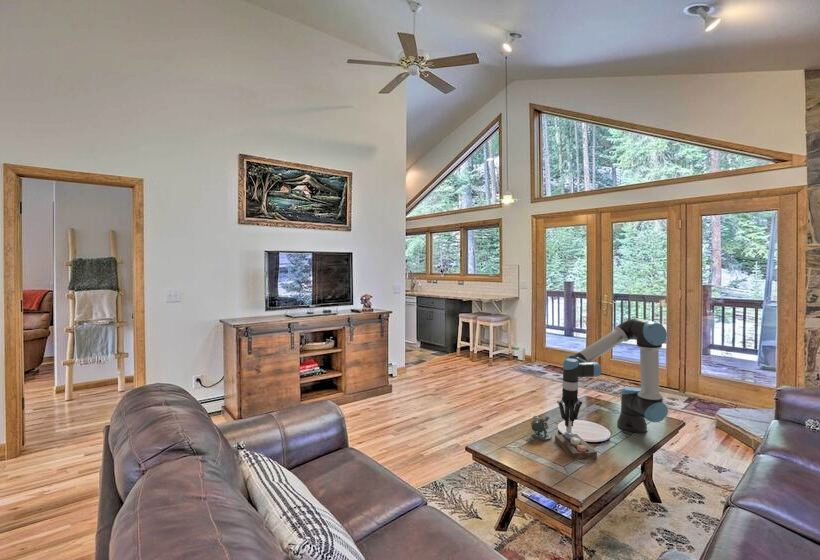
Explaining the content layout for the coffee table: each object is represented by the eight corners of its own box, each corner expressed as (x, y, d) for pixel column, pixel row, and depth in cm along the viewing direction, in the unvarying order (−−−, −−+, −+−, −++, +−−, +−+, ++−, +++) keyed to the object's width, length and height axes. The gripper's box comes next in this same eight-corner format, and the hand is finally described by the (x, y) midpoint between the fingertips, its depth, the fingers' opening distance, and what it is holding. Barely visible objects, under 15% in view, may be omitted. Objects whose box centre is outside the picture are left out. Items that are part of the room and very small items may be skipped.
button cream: (576, 442, 209) (577, 437, 209) (581, 446, 204) (581, 441, 204) (568, 443, 208) (569, 437, 208) (573, 447, 204) (573, 441, 204)
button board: (576, 440, 217) (576, 433, 217) (596, 459, 197) (597, 452, 197) (554, 441, 216) (555, 434, 216) (573, 460, 196) (573, 453, 196)
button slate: (570, 437, 215) (570, 431, 215) (574, 440, 211) (575, 435, 211) (562, 437, 215) (563, 431, 215) (566, 441, 211) (567, 435, 210)
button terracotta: (583, 450, 202) (583, 444, 202) (588, 454, 198) (588, 448, 198) (575, 450, 202) (575, 444, 202) (579, 455, 198) (579, 449, 197)
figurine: (552, 441, 215) (553, 420, 214) (532, 440, 217) (532, 418, 217) (550, 433, 226) (550, 412, 225) (530, 431, 228) (530, 411, 227)
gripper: (578, 385, 215) (576, 428, 217) (554, 386, 214) (553, 429, 216) (585, 390, 208) (584, 434, 210) (561, 391, 207) (560, 435, 208)
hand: (568, 432), depth 213 cm, fingers closed
